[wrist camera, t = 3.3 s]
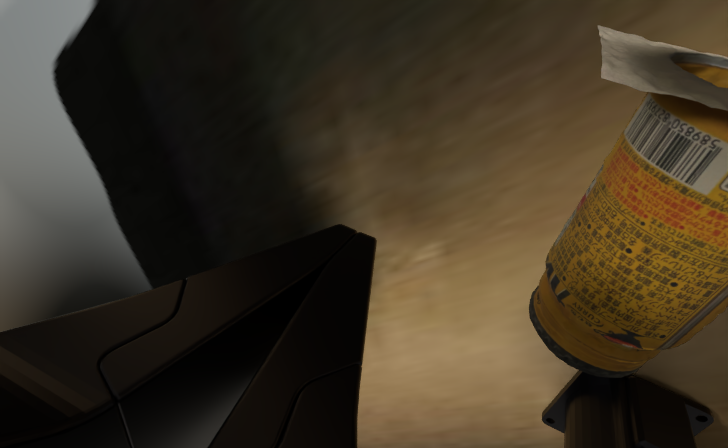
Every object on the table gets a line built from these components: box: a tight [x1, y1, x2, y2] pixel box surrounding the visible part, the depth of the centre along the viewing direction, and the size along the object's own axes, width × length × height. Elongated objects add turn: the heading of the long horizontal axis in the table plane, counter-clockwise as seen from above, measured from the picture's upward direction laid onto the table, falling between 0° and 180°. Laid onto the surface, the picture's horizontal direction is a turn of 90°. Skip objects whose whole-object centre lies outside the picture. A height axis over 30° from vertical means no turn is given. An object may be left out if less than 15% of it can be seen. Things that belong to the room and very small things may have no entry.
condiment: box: [529, 26, 728, 378], centre depth 16 cm, size 7×8×12 cm
